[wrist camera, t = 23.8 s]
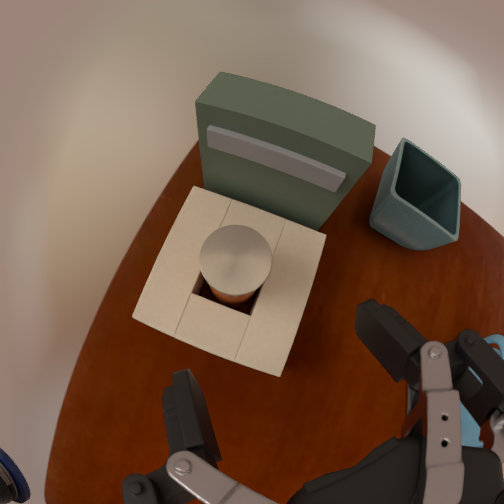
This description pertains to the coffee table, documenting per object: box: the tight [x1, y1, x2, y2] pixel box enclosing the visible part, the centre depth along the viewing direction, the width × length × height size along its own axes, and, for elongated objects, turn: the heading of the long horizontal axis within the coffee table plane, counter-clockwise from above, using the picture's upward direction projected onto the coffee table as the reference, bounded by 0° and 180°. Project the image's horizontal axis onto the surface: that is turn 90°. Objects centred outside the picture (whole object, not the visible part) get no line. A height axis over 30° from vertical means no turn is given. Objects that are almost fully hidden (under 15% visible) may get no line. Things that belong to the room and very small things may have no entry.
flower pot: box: [369, 138, 461, 250], centre depth 26 cm, size 9×9×9 cm
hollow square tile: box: [132, 186, 326, 377], centre depth 24 cm, size 13×13×4 cm
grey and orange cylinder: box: [199, 225, 272, 306], centre depth 22 cm, size 5×5×9 cm
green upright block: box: [195, 72, 375, 231], centre depth 23 cm, size 12×4×14 cm, turn 70°
